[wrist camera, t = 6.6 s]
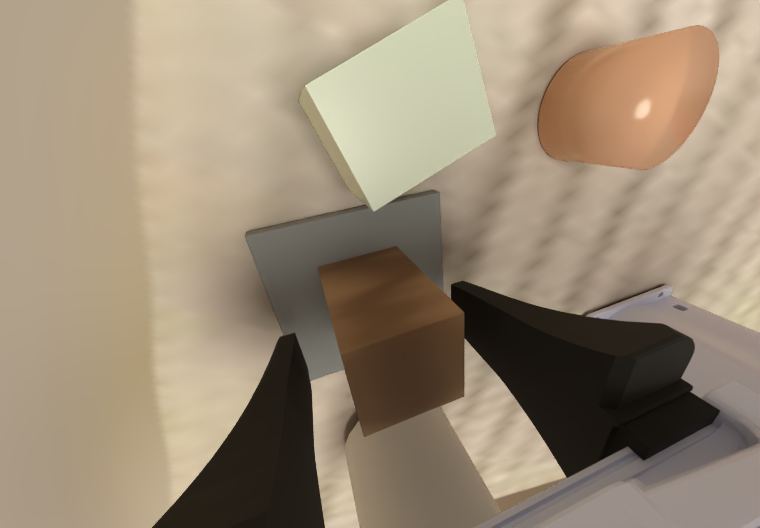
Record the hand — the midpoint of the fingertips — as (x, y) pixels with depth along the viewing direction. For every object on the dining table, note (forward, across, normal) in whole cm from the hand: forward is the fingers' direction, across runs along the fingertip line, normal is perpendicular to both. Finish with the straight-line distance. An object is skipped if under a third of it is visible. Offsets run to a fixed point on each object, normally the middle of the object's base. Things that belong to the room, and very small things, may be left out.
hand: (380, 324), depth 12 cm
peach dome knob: (+3, -13, -7) cm, 15 cm away
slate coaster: (+3, 0, 0) cm, 3 cm away
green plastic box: (+3, -2, -8) cm, 9 cm away
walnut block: (+3, 0, 0) cm, 3 cm away
